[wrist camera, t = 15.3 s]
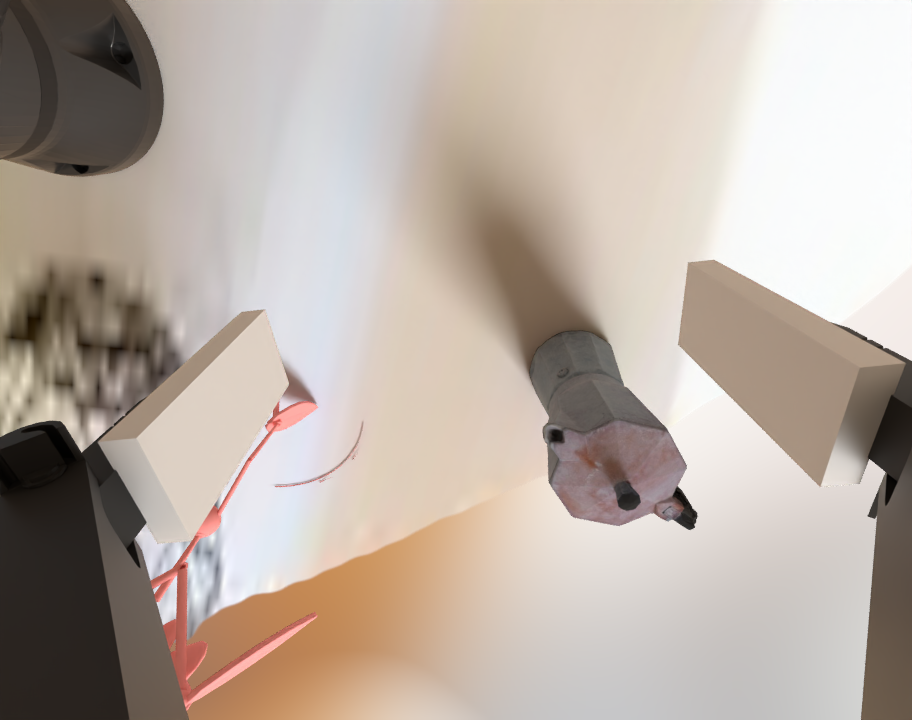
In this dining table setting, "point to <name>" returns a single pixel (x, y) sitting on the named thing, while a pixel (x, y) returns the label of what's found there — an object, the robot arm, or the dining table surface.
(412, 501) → the dining table surface
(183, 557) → the figurine
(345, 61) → the dining table surface
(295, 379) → the dining table surface
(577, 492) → the moka pot
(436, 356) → the dining table surface
